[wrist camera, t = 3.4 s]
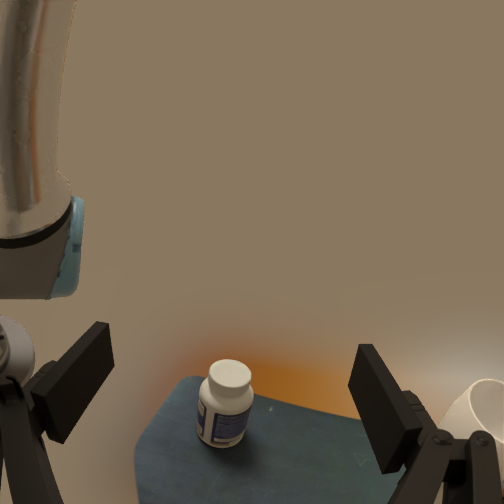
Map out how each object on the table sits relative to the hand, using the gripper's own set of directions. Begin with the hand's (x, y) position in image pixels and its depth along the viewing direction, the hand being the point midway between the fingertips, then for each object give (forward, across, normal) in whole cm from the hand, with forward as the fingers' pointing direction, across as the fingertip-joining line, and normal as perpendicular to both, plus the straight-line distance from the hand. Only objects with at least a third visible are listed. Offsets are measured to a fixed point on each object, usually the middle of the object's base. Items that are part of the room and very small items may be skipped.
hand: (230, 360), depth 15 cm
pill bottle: (+12, -1, -18) cm, 22 cm away
